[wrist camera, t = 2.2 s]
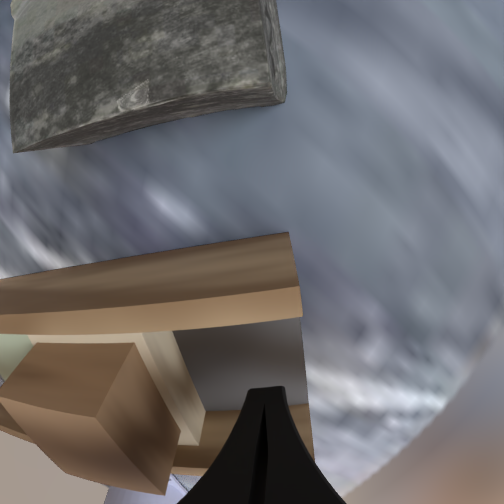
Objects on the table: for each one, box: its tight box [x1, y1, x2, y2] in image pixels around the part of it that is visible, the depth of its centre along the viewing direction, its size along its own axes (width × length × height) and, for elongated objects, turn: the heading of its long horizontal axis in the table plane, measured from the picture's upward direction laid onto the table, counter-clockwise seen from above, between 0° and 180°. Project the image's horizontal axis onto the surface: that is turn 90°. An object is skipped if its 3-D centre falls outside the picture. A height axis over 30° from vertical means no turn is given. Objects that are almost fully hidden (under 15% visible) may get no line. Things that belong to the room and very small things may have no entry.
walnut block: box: [0, 342, 181, 496], centre depth 11 cm, size 6×6×4 cm
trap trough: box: [0, 232, 315, 476], centre depth 14 cm, size 11×25×4 cm, turn 100°
